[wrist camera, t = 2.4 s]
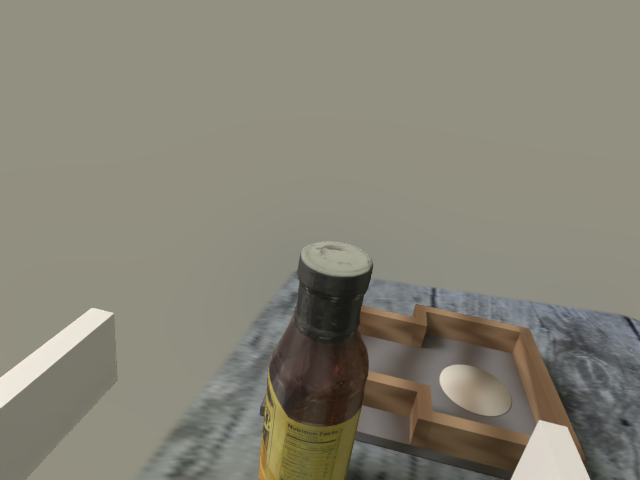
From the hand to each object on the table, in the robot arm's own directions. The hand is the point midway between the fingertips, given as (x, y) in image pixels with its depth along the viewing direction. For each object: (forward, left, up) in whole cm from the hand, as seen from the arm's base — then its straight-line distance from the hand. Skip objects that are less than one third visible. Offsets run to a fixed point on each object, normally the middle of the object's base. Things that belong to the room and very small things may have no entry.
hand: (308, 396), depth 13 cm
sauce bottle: (+1, -11, -20) cm, 23 cm away
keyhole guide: (-7, -26, -20) cm, 34 cm away
